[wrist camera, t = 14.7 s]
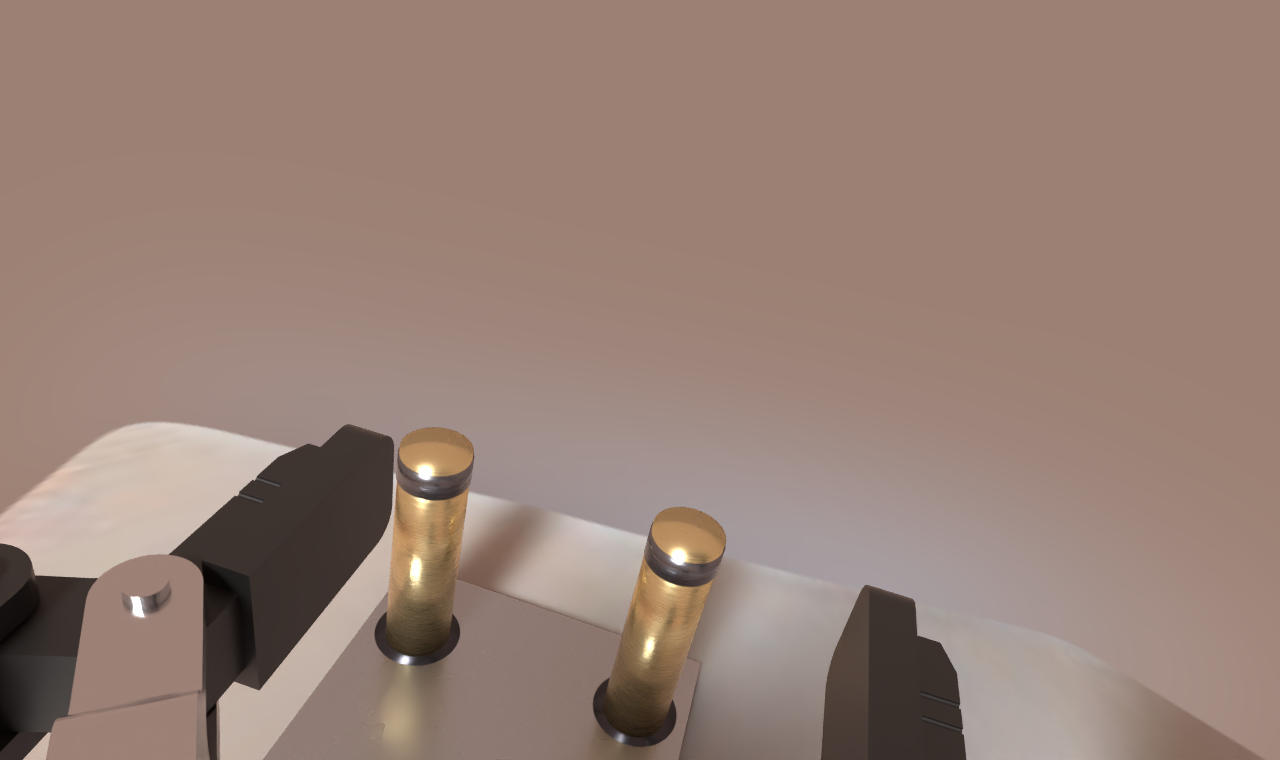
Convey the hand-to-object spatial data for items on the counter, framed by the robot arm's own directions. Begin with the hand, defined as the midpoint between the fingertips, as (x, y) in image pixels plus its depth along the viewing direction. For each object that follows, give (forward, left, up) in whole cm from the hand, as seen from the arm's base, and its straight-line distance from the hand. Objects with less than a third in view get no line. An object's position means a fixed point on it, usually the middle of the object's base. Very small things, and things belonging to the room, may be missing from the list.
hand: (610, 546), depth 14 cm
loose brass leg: (-1, -16, -23) cm, 28 cm away
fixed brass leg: (+10, -16, -23) cm, 30 cm away
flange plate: (+4, -13, -24) cm, 28 cm away
